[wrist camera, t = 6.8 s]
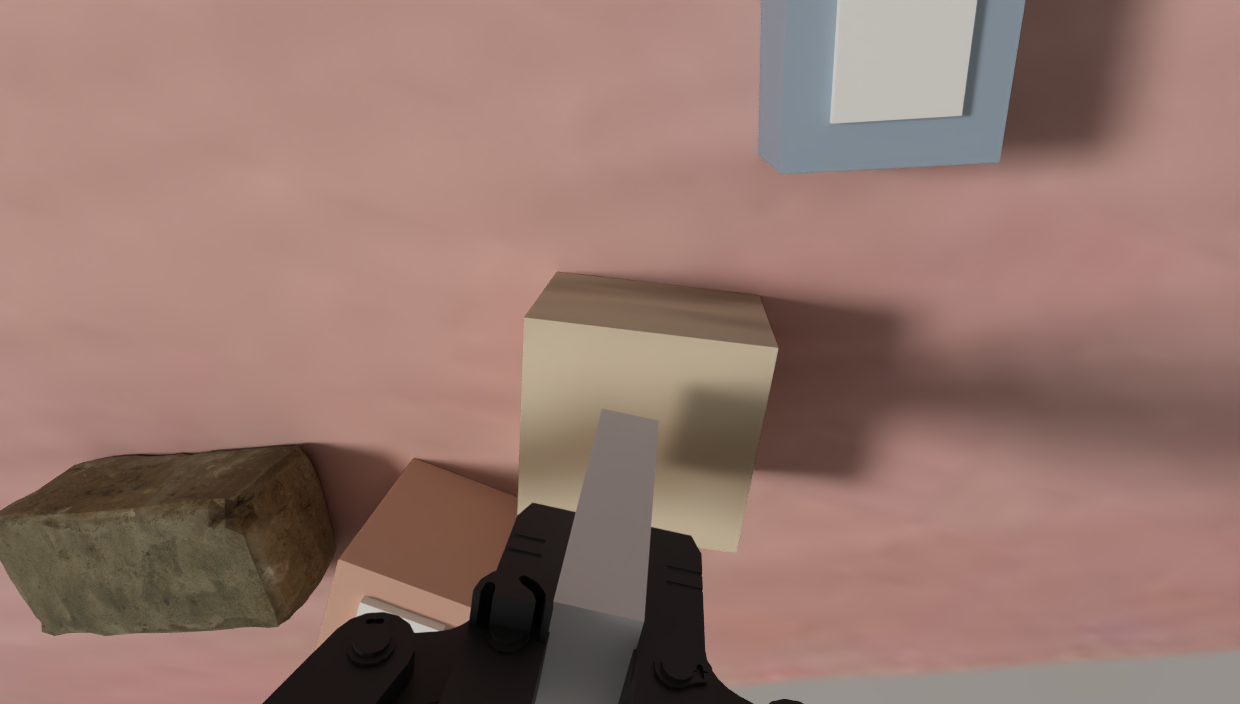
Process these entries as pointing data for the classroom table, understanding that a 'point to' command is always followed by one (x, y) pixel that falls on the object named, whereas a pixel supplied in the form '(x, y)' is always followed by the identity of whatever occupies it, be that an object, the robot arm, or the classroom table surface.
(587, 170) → the classroom table surface
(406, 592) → the terracotta block
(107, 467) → the stone block
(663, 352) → the oak block
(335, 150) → the classroom table surface
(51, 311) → the classroom table surface
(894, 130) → the slate block
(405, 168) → the classroom table surface
